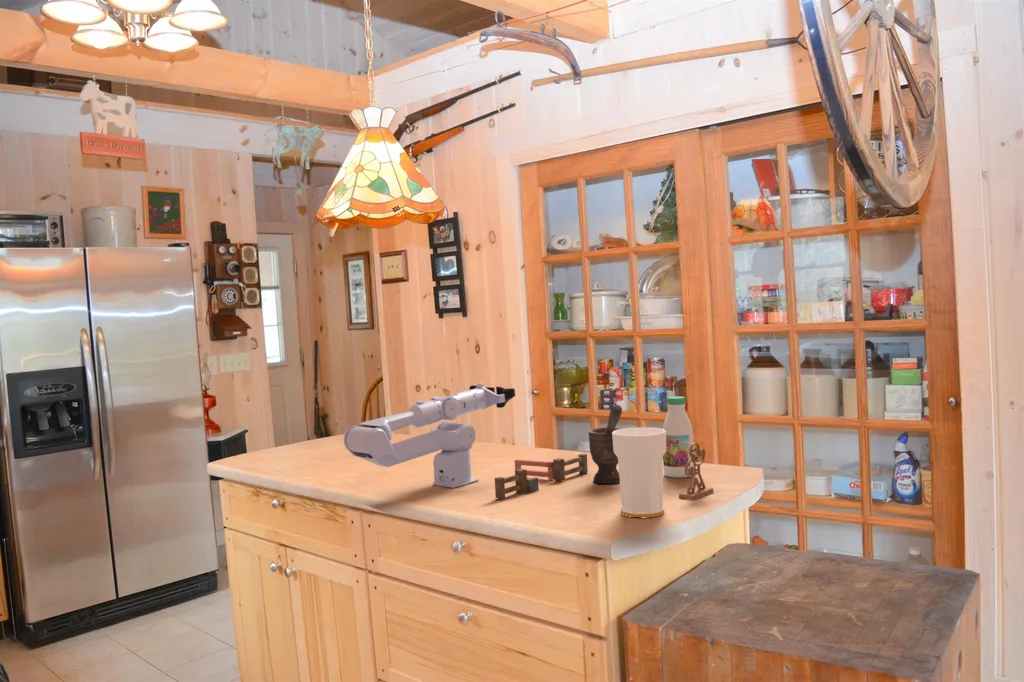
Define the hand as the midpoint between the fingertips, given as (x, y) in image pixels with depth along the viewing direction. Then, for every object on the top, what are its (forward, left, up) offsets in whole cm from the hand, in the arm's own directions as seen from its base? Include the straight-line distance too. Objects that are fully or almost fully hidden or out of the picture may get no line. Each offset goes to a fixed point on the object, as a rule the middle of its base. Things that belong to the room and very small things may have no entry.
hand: (503, 391), depth 222 cm
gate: (-5, -15, -21) cm, 27 cm away
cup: (-19, -57, -22) cm, 64 cm away
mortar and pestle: (+1, -35, -22) cm, 41 cm away
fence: (-10, -22, -22) cm, 33 cm away
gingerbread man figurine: (0, -59, -22) cm, 63 cm away
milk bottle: (+16, -45, -22) cm, 52 cm away
